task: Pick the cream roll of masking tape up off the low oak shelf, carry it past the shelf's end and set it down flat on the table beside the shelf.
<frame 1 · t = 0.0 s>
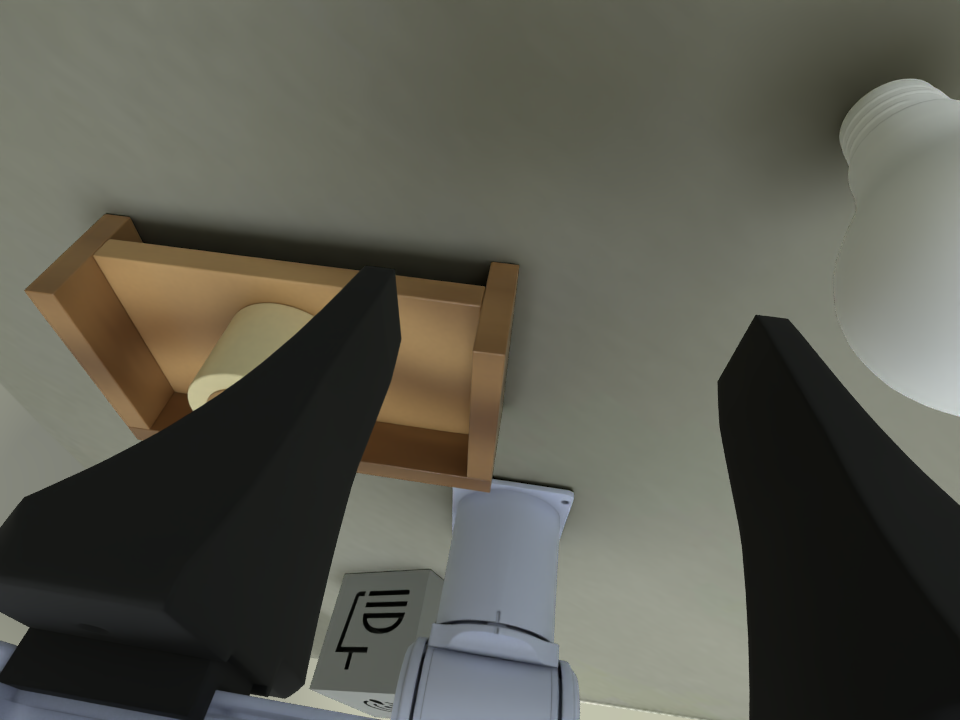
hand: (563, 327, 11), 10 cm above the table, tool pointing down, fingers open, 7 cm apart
icon cube: (413, 590, 55), on the table
shelf: (324, 314, 27), on the table
lightbulb: (876, 108, 17), on the table
tape roll: (291, 347, 25), point 3 cm above the table, touching shelf
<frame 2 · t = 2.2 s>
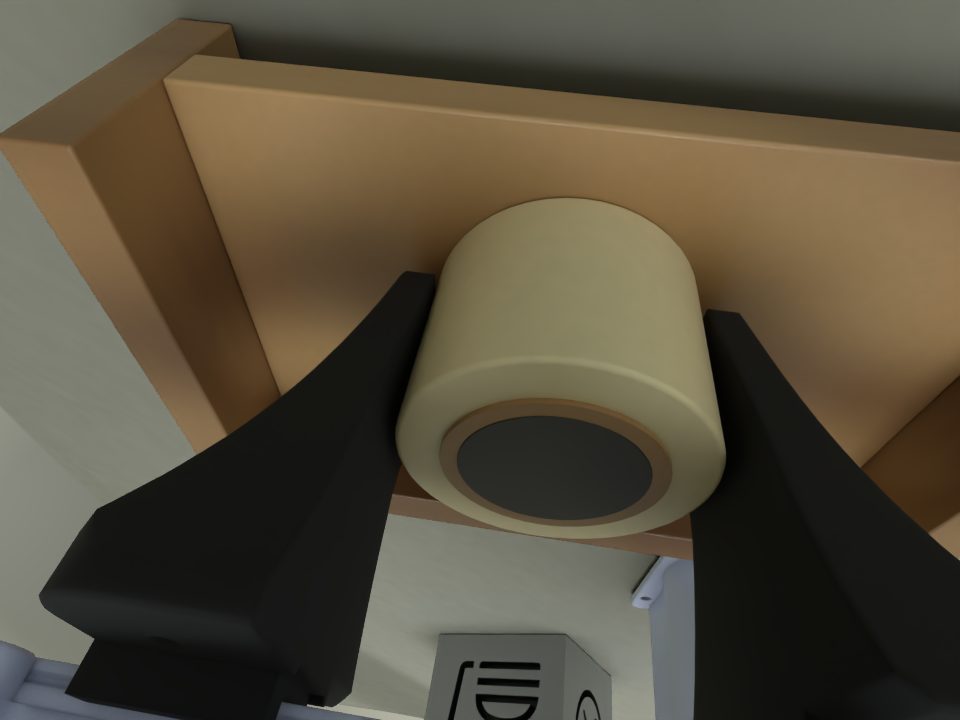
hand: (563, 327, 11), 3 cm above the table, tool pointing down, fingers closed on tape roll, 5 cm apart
icon cube: (527, 653, 42), on the table
shelf: (585, 250, 14), on the table
tape roll: (562, 307, 12), point 3 cm above the table, touching gripper, shelf
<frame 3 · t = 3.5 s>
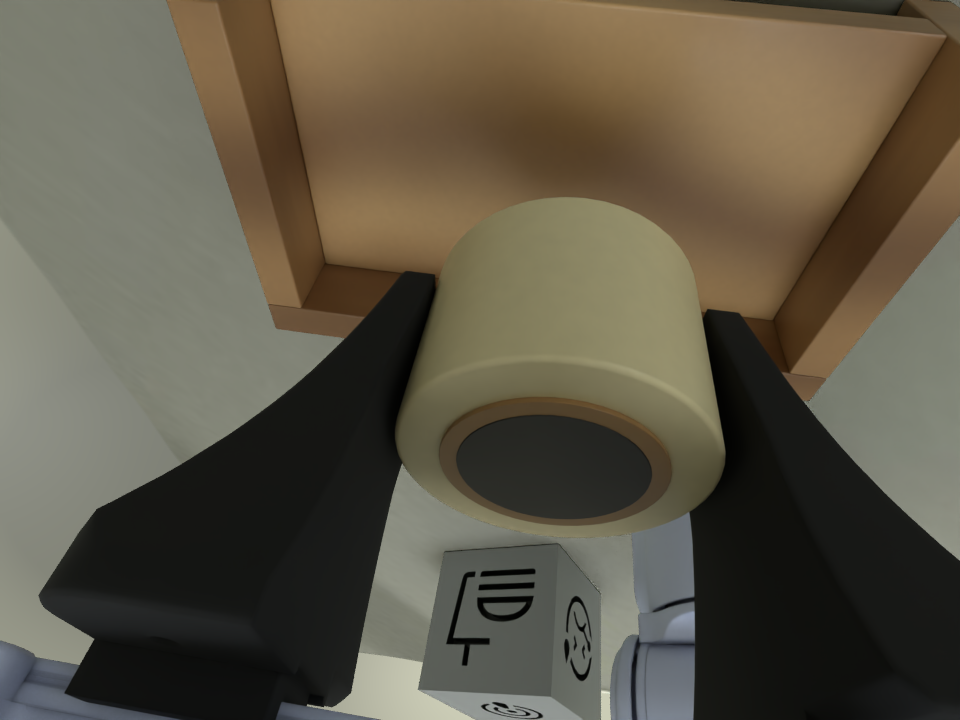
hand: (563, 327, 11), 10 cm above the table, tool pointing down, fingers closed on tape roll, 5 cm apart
icon cube: (524, 571, 47), on the table
shelf: (566, 132, 18), on the table
tape roll: (562, 306, 12), point 9 cm above the table, touching gripper
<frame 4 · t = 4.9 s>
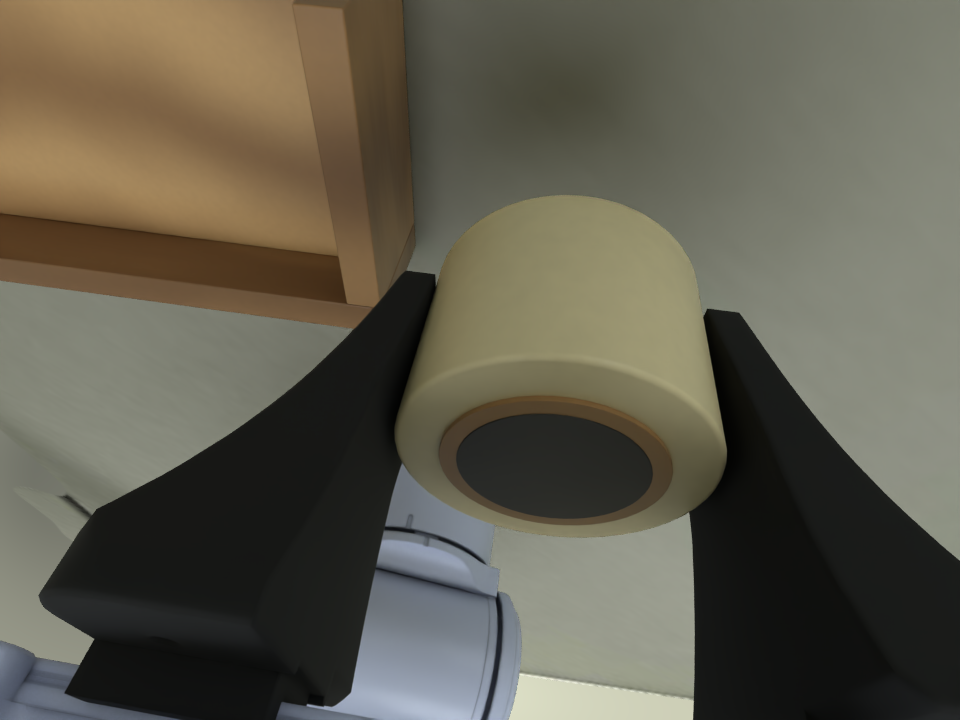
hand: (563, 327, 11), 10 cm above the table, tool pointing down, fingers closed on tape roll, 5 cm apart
shelf: (153, 82, 19), on the table
tape roll: (562, 305, 12), point 10 cm above the table, touching gripper
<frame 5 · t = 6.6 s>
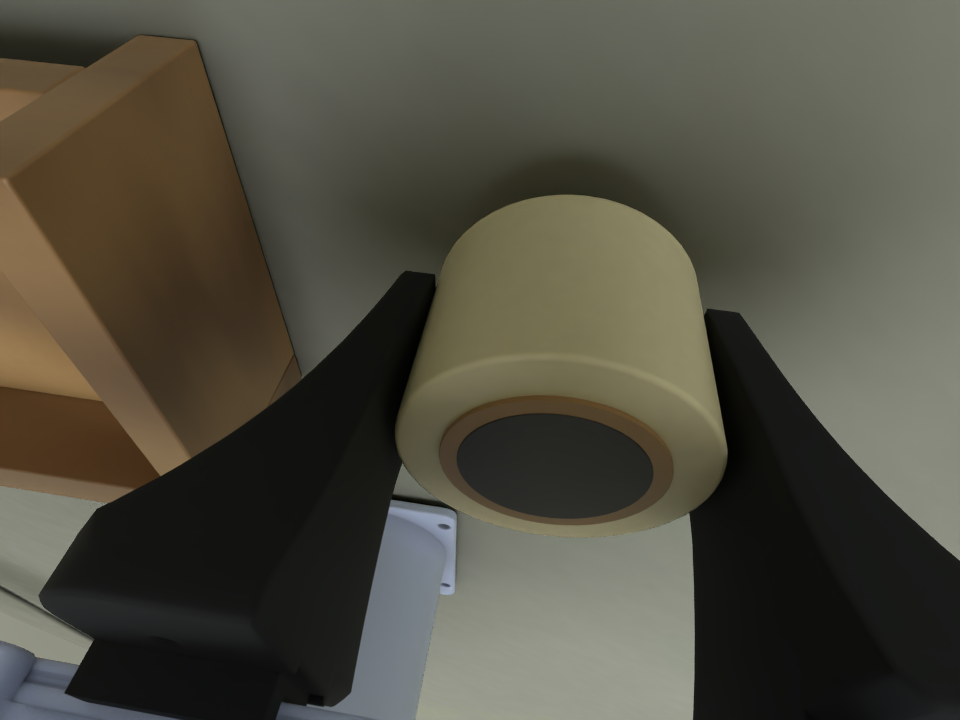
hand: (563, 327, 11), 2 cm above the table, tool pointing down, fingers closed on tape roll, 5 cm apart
tape roll: (563, 305, 12), point 2 cm above the table, touching gripper
when the fingers open (1 cm above the table, at t = 7.7 s): tape roll stays where it is, on the table.
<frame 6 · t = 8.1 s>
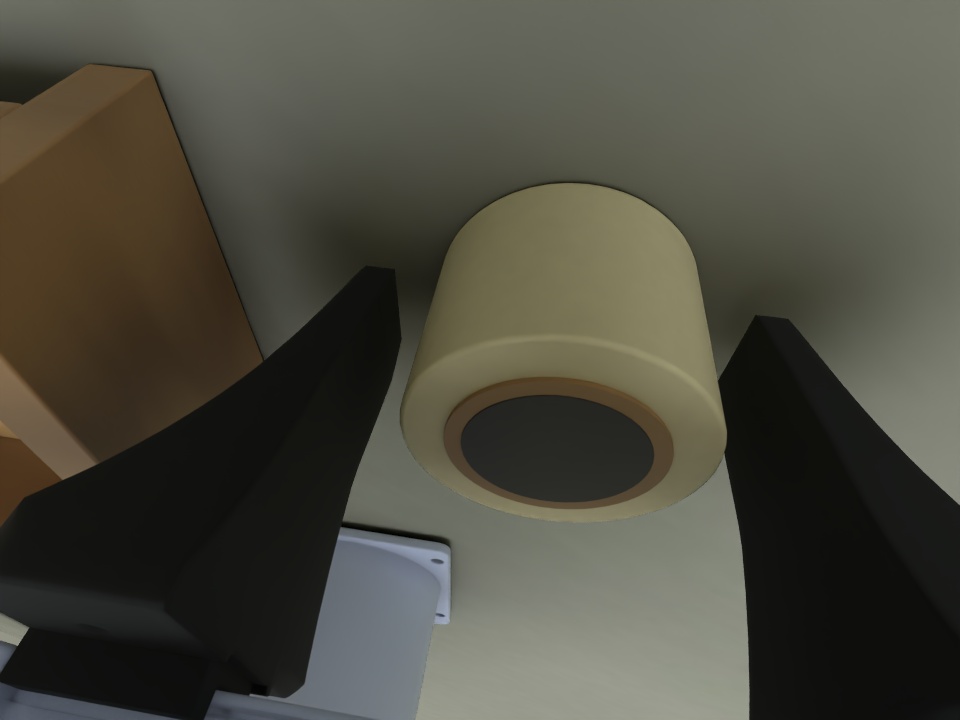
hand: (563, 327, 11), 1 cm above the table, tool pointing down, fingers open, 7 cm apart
tape roll: (564, 294, 12), on the table
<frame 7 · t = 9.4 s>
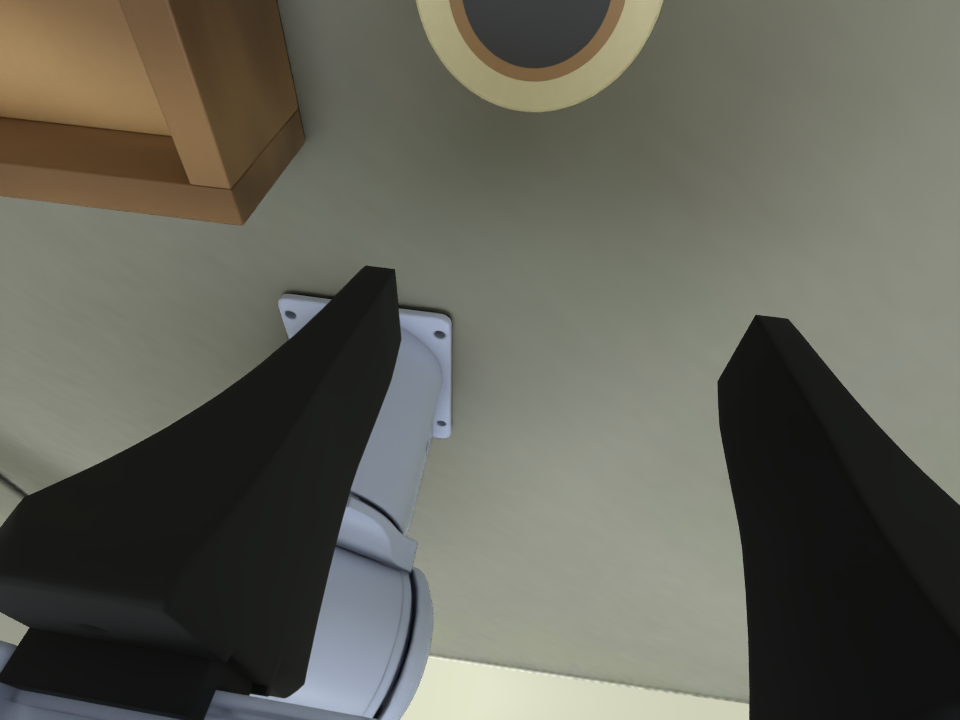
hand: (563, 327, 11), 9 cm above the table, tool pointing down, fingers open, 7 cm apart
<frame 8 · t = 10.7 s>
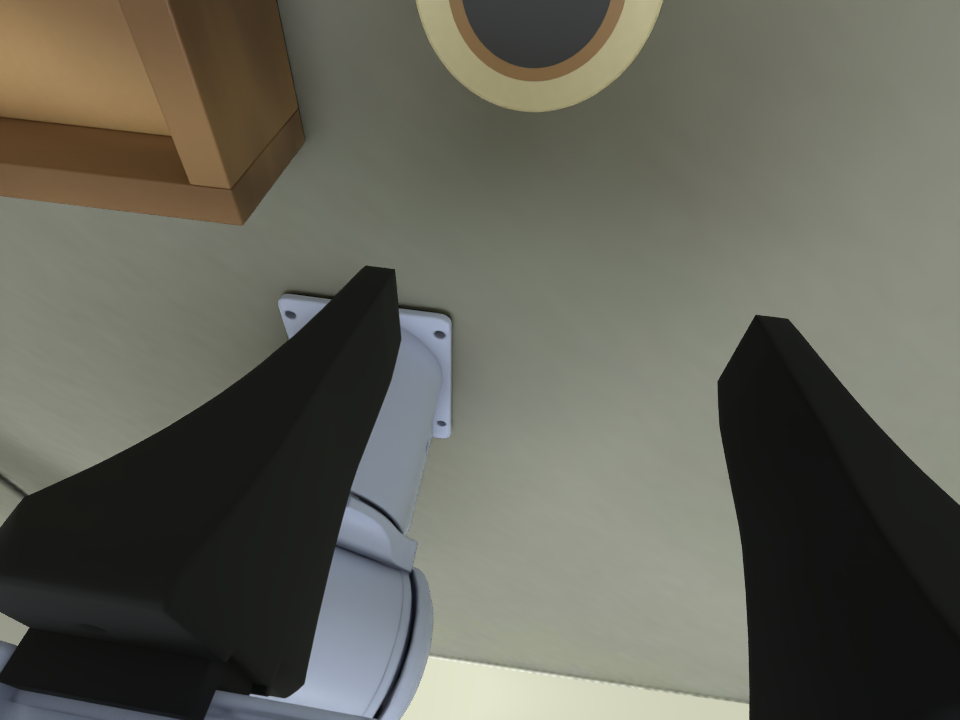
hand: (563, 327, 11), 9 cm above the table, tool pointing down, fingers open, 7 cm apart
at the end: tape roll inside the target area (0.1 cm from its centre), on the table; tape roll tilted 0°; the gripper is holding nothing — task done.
